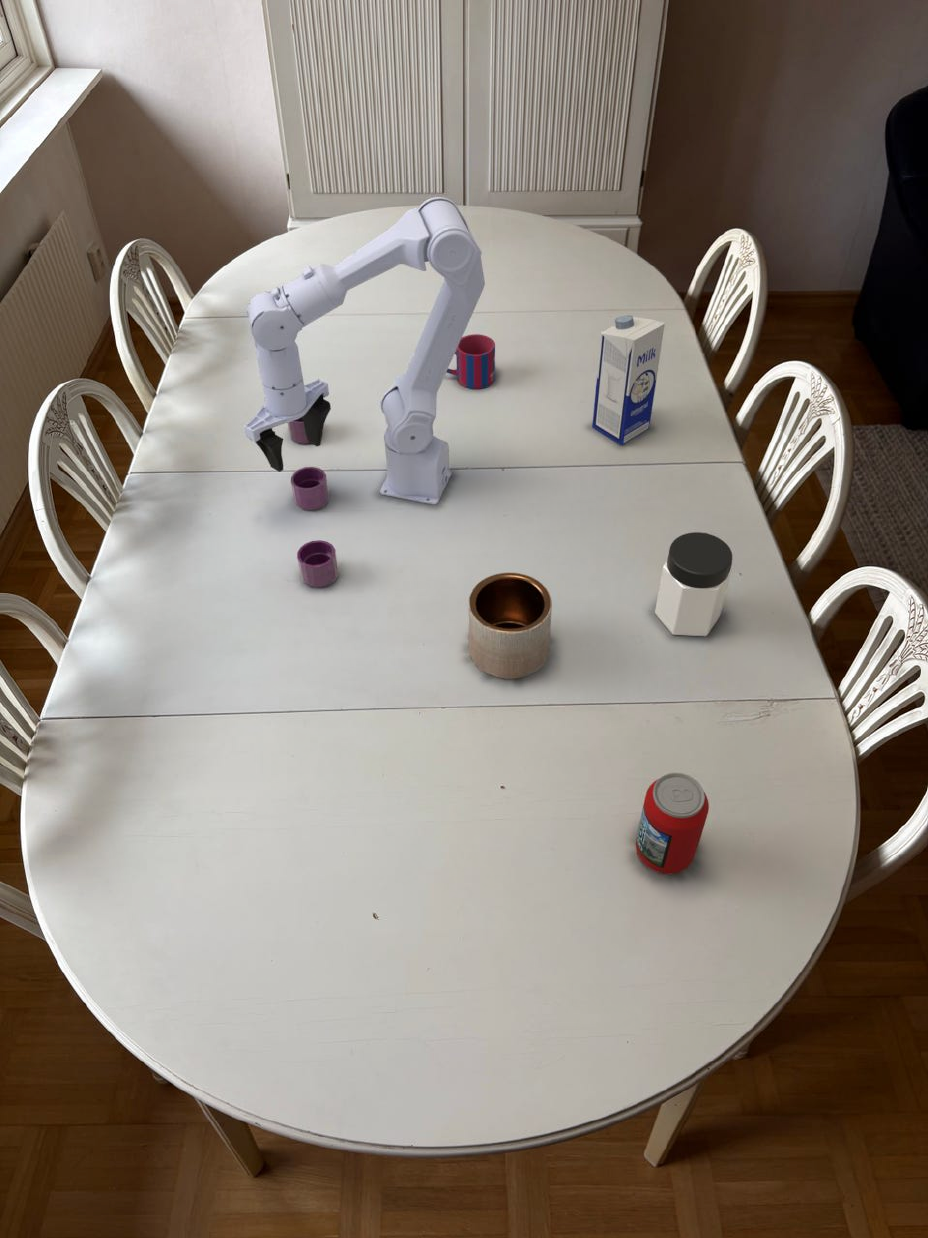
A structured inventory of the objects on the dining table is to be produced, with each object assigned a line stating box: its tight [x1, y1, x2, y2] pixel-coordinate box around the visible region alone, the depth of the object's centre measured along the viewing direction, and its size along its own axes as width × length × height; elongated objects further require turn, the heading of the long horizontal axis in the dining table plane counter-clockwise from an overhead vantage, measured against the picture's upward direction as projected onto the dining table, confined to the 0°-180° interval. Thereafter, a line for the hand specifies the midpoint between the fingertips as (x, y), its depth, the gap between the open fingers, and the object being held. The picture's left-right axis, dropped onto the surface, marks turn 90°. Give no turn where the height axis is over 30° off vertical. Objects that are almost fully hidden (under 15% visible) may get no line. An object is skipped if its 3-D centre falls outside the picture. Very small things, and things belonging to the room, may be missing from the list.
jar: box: [654, 531, 733, 637], centre depth 134 cm, size 9×8×12 cm
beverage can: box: [635, 772, 710, 875], centre depth 109 cm, size 7×7×12 cm
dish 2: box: [290, 466, 330, 511], centre depth 154 cm, size 5×5×4 cm
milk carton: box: [591, 315, 666, 447], centre depth 159 cm, size 7×7×20 cm
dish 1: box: [287, 417, 311, 445], centre depth 165 cm, size 5×5×4 cm
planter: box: [467, 572, 553, 680], centre depth 131 cm, size 11×11×10 cm
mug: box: [446, 333, 496, 390], centre depth 174 cm, size 7×10×7 cm
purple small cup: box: [296, 539, 340, 588], centre depth 143 cm, size 5×5×4 cm
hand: (295, 455), depth 149 cm, fingers open, 7 cm apart
